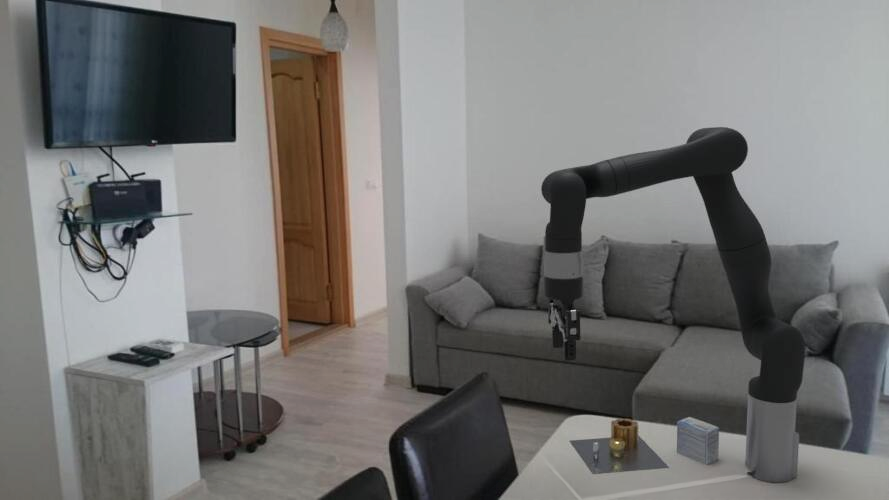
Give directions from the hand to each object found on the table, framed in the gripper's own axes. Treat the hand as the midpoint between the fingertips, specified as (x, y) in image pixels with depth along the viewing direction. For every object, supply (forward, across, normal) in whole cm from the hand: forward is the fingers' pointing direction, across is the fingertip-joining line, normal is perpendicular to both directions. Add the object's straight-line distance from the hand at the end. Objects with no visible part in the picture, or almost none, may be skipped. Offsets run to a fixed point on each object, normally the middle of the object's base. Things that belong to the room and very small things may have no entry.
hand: (563, 353), depth 140 cm
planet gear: (+28, +17, -19) cm, 38 cm away
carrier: (+29, +12, -16) cm, 35 cm away
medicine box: (+30, +8, -33) cm, 45 cm away
